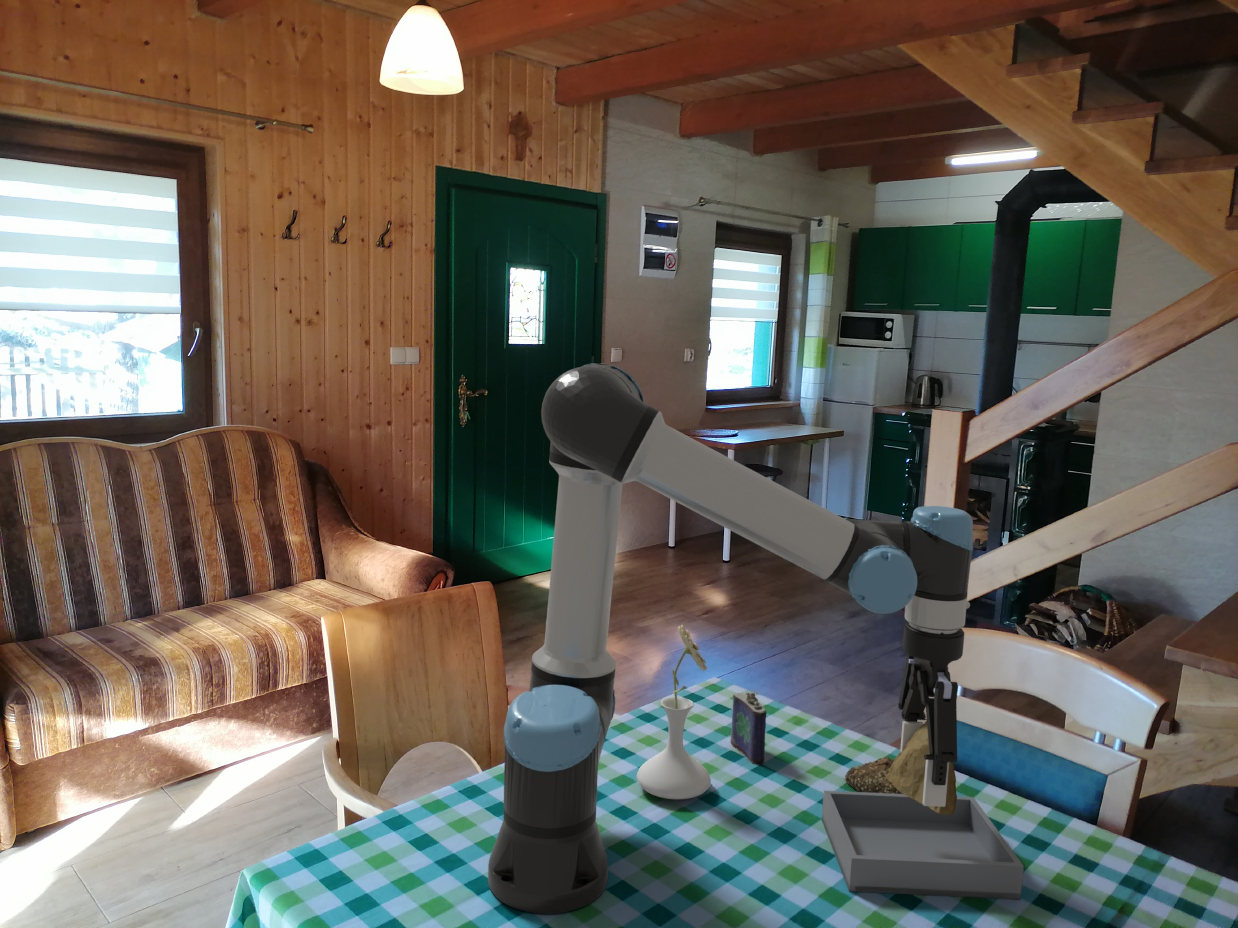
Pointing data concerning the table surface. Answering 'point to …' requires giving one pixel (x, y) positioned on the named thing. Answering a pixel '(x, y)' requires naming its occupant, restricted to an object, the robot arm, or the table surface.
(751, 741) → the flask
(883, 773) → the bread roll
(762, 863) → the table surface
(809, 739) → the table surface
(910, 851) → the bin
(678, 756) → the flower in vase
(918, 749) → the rock
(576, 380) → the robot arm
